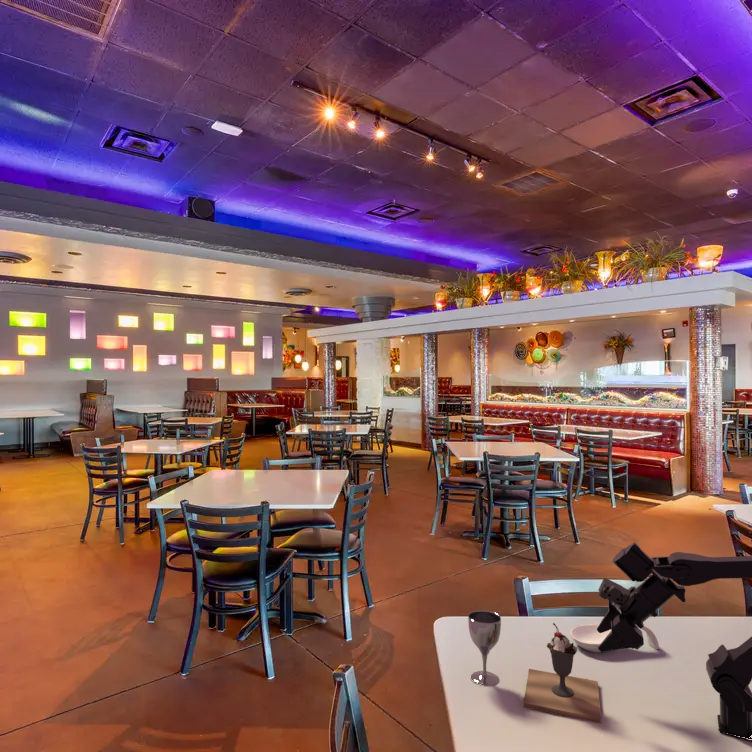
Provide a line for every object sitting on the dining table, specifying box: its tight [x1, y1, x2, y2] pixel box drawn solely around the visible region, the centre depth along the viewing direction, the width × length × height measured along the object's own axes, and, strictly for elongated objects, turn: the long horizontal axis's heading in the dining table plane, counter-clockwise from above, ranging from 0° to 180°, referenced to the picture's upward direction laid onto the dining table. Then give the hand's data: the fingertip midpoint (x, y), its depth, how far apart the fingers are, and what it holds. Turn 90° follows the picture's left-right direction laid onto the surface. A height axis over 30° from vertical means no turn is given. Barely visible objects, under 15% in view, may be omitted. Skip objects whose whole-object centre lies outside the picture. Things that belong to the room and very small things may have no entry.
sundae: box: [546, 622, 578, 697], centre depth 122 cm, size 7×7×15 cm
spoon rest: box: [569, 623, 660, 653], centre depth 147 cm, size 24×12×7 cm, turn 93°
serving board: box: [522, 668, 602, 724], centre depth 122 cm, size 16×16×1 cm
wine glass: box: [467, 609, 502, 687], centre depth 130 cm, size 8×8×15 cm
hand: (598, 640), depth 121 cm, fingers open, 9 cm apart
